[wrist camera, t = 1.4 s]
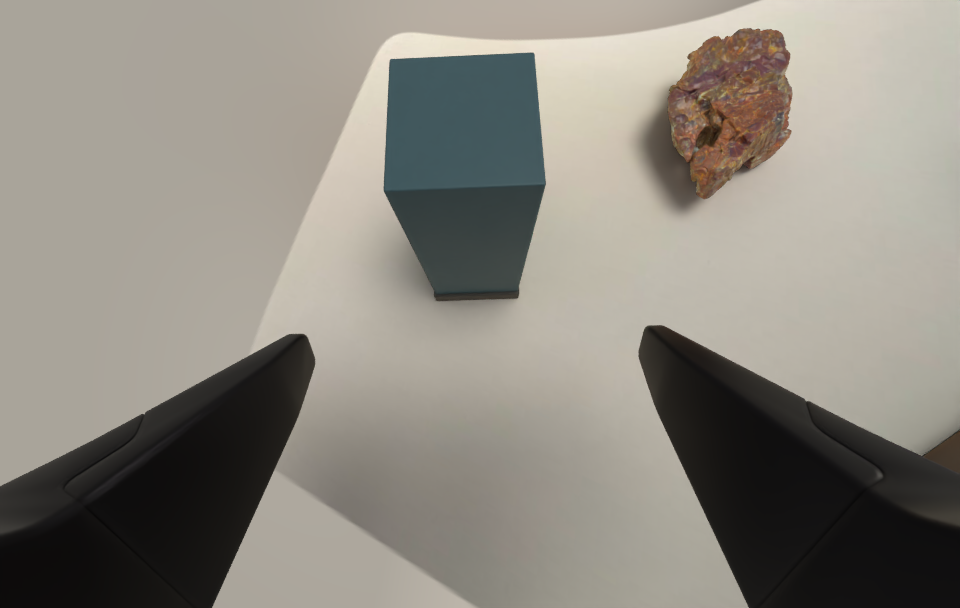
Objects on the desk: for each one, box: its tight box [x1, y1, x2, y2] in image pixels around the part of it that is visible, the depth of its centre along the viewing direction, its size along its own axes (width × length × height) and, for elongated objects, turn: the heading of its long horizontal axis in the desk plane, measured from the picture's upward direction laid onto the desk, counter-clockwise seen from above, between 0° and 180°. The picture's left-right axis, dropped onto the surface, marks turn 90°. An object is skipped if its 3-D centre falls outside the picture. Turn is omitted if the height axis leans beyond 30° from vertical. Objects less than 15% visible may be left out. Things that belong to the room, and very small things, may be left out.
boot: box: [384, 53, 546, 301], centre depth 19 cm, size 10×6×13 cm, turn 2°
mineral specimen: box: [668, 28, 792, 199], centre depth 24 cm, size 12×8×7 cm
